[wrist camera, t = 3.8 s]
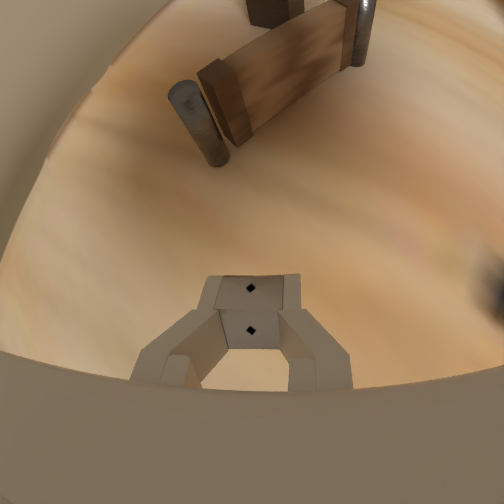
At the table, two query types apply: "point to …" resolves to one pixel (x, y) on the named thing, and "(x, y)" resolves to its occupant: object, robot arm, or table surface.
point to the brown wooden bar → (279, 67)
